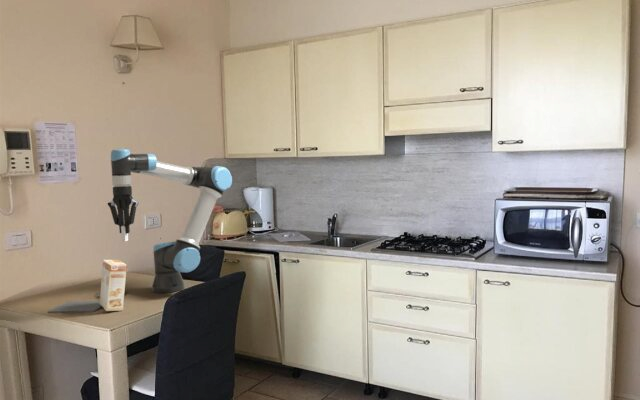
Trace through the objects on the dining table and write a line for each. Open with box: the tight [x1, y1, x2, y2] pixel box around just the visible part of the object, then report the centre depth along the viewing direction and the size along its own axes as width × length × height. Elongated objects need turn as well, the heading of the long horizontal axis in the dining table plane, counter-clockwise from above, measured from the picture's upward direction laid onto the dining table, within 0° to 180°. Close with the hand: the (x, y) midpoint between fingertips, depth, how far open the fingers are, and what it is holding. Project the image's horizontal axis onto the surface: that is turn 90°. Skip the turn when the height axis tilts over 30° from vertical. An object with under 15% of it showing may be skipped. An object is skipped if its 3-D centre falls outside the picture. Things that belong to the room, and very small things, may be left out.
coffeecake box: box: [99, 259, 128, 312], centre depth 222 cm, size 15×7×20 cm, turn 33°
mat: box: [48, 300, 103, 314], centre depth 225 cm, size 20×15×1 cm
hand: (125, 240), depth 221 cm, fingers closed
